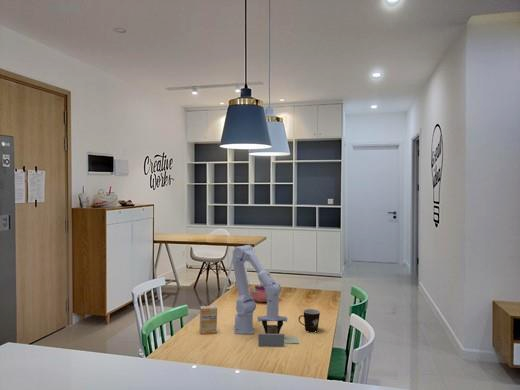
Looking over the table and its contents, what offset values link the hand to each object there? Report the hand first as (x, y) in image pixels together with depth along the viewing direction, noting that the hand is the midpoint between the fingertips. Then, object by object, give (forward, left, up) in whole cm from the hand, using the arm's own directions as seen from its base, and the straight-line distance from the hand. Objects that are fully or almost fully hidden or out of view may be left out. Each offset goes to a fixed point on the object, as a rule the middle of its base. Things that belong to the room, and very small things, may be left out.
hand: (272, 335), depth 194 cm
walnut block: (0, 0, -1) cm, 1 cm away
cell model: (-1, +67, -2) cm, 67 cm away
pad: (+9, -3, -1) cm, 10 cm away
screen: (-1, -9, -1) cm, 9 cm away
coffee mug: (+20, +12, -2) cm, 23 cm away
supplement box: (-32, +8, -2) cm, 33 cm away
